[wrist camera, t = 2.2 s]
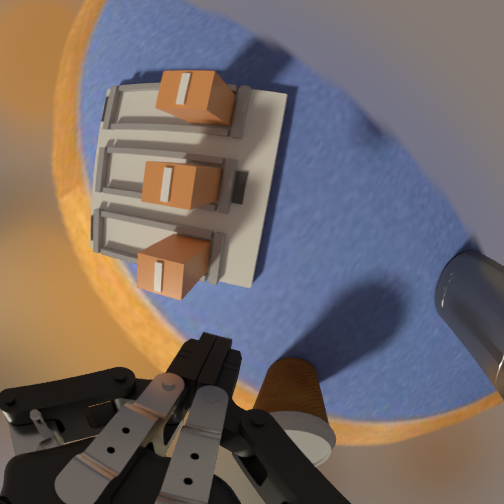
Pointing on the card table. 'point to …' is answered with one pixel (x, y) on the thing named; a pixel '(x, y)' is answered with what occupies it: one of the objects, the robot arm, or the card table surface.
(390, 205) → the card table surface
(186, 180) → the tab mid
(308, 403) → the disposable coffee cup
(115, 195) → the switch bank
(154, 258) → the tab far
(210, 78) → the tab near
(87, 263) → the card table surface
